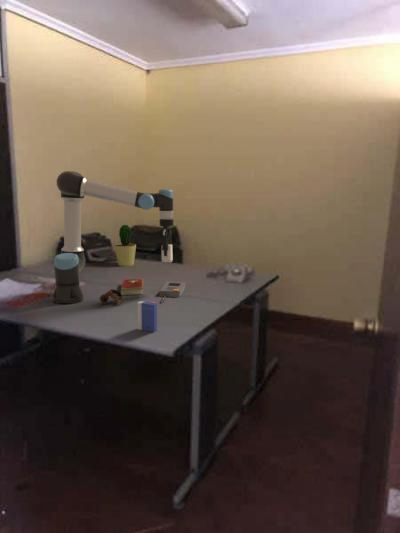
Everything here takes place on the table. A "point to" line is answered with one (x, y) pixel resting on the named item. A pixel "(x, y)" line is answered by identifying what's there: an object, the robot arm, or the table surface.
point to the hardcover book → (132, 286)
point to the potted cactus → (125, 247)
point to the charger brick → (169, 253)
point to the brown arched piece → (111, 294)
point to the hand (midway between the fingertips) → (167, 260)
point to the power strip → (172, 289)
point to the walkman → (147, 316)
